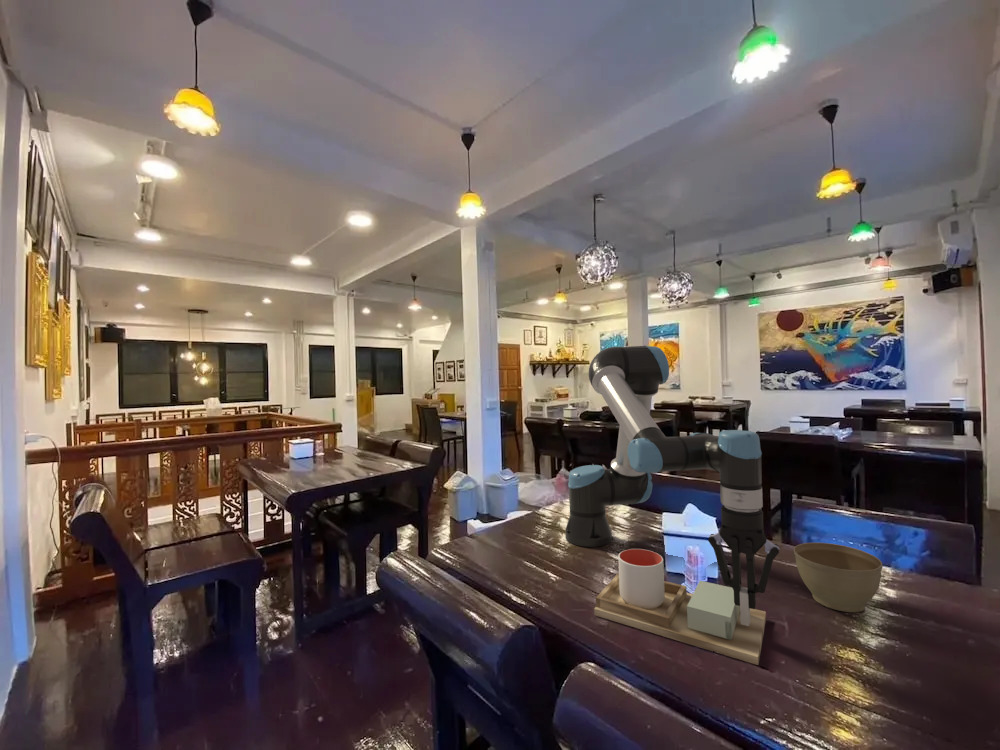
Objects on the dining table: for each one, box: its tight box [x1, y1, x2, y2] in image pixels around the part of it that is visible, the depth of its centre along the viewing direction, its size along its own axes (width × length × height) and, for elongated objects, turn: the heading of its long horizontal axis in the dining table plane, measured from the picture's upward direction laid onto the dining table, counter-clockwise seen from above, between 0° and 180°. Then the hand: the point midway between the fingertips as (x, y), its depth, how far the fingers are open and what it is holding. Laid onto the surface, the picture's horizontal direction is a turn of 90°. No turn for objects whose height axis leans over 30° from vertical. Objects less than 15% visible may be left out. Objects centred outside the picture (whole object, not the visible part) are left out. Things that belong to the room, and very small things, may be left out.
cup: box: [617, 548, 665, 609], centre depth 102 cm, size 10×10×10 cm
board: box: [593, 572, 767, 666], centre depth 97 cm, size 18×32×4 cm, turn 55°
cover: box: [687, 580, 740, 640], centre depth 93 cm, size 13×8×4 cm, turn 145°
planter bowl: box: [793, 542, 883, 613], centre depth 100 cm, size 16×16×11 cm
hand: (745, 621), depth 89 cm, fingers closed
